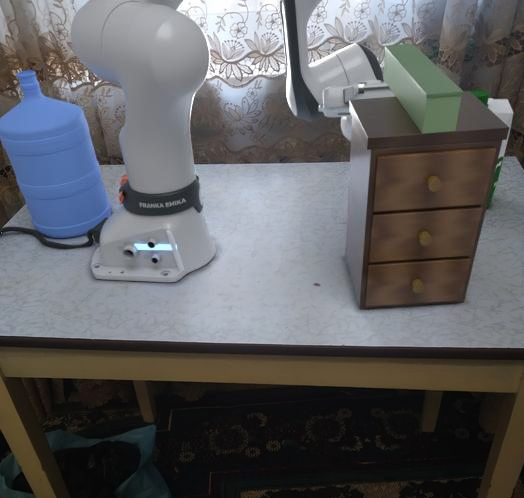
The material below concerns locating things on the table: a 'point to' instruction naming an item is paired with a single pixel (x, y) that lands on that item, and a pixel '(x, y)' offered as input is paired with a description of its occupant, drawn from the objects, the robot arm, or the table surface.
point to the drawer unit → (417, 201)
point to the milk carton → (505, 114)
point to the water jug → (54, 162)
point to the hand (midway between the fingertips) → (388, 85)
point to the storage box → (422, 88)
